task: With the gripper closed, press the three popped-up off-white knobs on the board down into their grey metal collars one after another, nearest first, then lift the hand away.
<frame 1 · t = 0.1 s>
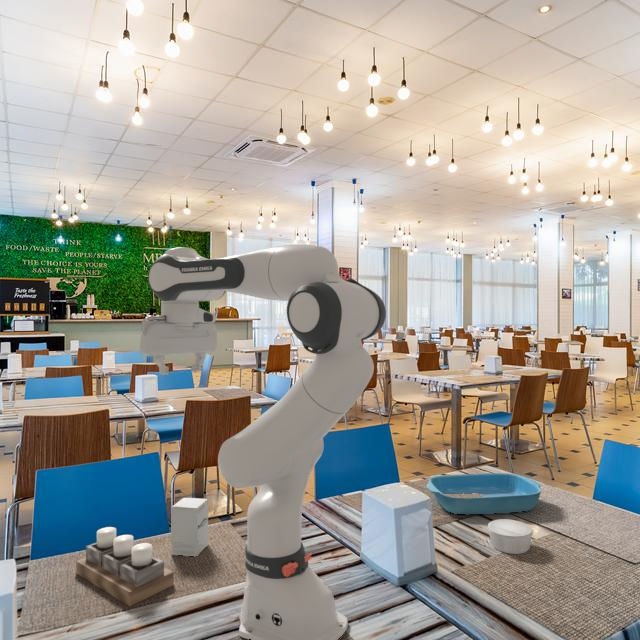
hand: (180, 372, 124), 48 cm above the table, tool pointing down, fingers open, 8 cm apart
ramekin: (510, 547, 136), on the table
casserole dish: (483, 505, 166), on the table
supplement box: (190, 551, 135), on the table
knob far: (106, 537, 124), point 8 cm above the table, slide at 3.0 cm
knob near: (141, 554, 115), point 8 cm above the table, slide at 3.0 cm
knob mount: (123, 579, 120), on the table
knob middle: (123, 545, 120), point 8 cm above the table, slide at 3.0 cm
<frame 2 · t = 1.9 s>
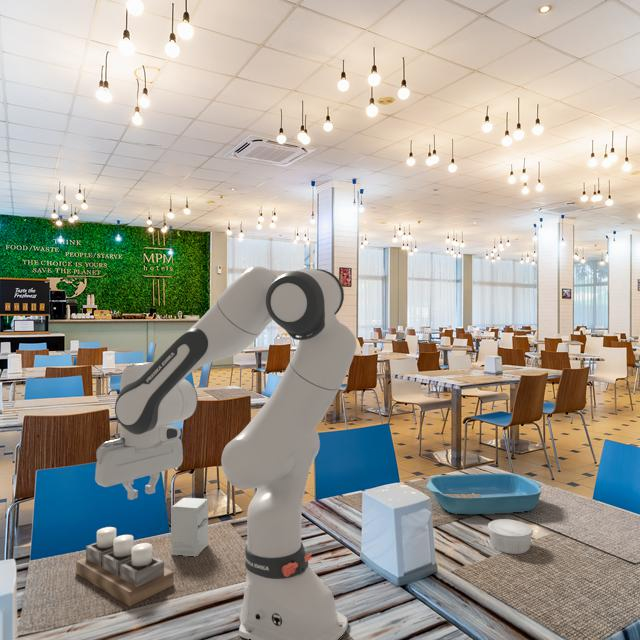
hand: (141, 495, 115), 21 cm above the table, tool pointing down, fingers open, 3 cm apart
nothing on the table moved.
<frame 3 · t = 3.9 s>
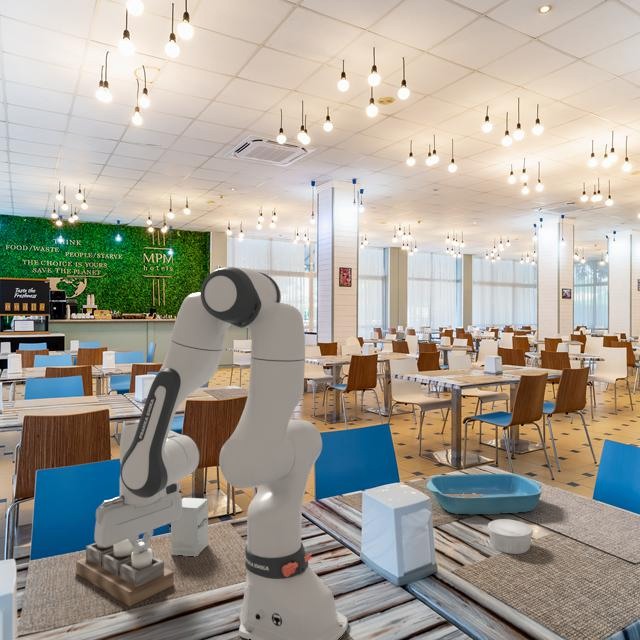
hand: (140, 551, 115), 9 cm above the table, tool pointing down, fingers closed, pressing on knob near
knob near: (141, 559, 115), point 7 cm above the table, slide at 2.0 cm, touching gripper
everything else where it was.
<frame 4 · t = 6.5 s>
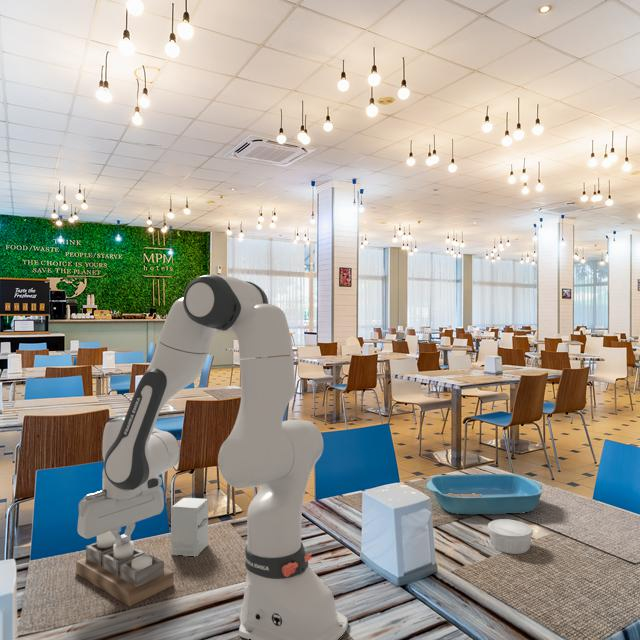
hand: (122, 543, 120), 8 cm above the table, tool pointing down, fingers closed, pressing on knob middle
knob near: (141, 567, 115), point 5 cm above the table, slide at 0.0 cm
knob middle: (123, 550, 120), point 7 cm above the table, slide at 1.7 cm, touching gripper
everything else where it was.
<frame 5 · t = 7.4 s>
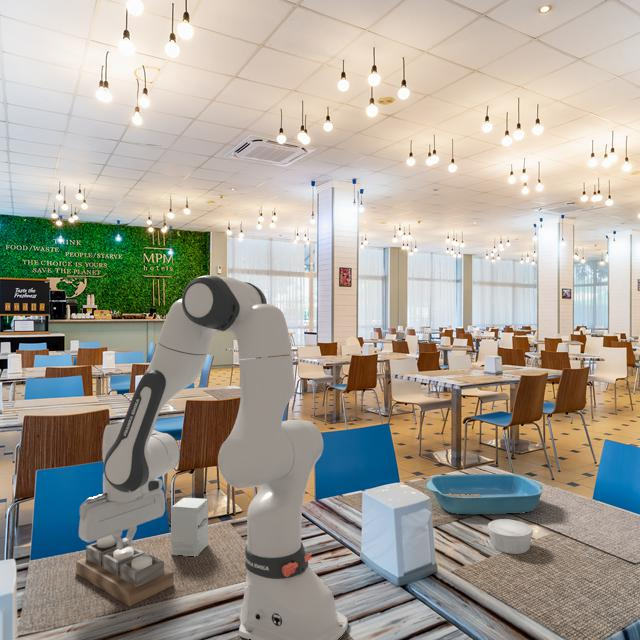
hand: (124, 547, 119), 8 cm above the table, tool pointing down, fingers closed
knob middle: (123, 558, 120), point 5 cm above the table, slide at 0.0 cm
everything else where it was.
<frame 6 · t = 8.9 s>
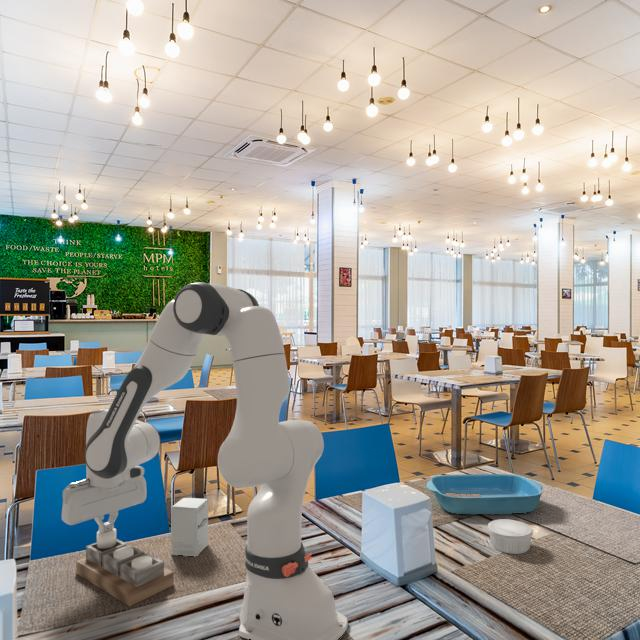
hand: (106, 530, 124), 9 cm above the table, tool pointing down, fingers closed, pressing on knob far
knob far: (106, 537, 124), point 8 cm above the table, slide at 2.8 cm, touching gripper
everything else where it was.
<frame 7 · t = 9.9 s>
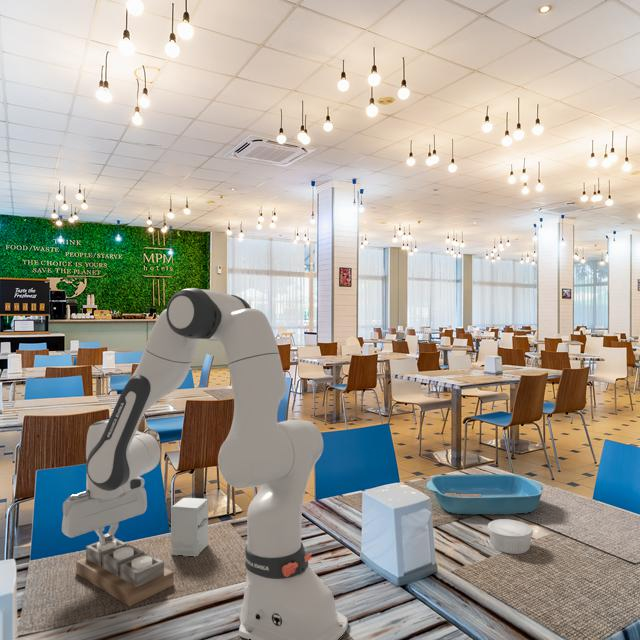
hand: (106, 542, 124), 7 cm above the table, tool pointing down, fingers closed
knob far: (106, 549, 124), point 5 cm above the table, slide at 0.0 cm
everything else where it was.
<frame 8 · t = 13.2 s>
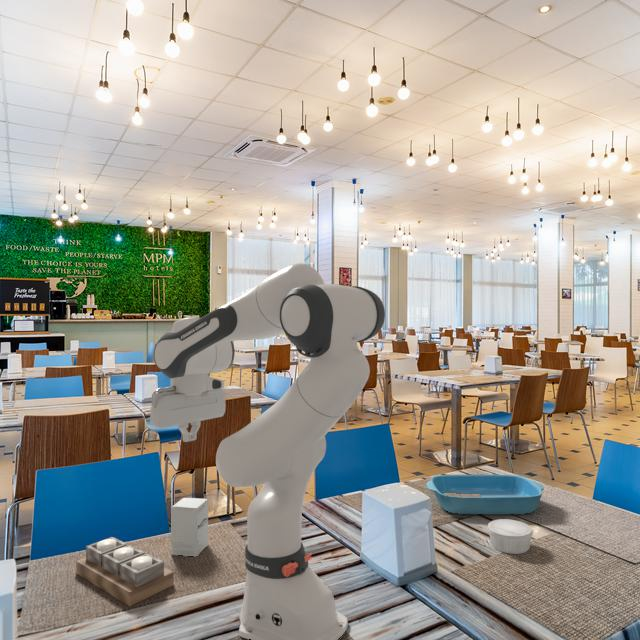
hand: (189, 440, 125), 31 cm above the table, tool pointing down, fingers closed
at the end: knob near slide at 0.0 cm; knob middle slide at 0.0 cm; knob far slide at 0.0 cm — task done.
